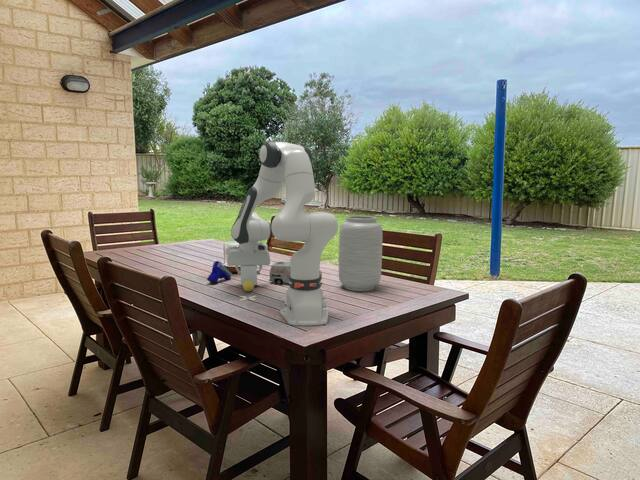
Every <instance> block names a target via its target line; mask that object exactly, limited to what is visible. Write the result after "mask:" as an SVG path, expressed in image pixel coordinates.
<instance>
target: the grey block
mask: <svg viewBox="0 0 640 480" xmlns="http://www.w3.org/2000/svg"><path fill="white" fill-rule="evenodd" d="M257 270H258V265H253V266H240V271H241V275H240V286H243V283H244V282H245V281H248V280H249V281H252V282H253V284H254V286H257V285H258V275H257Z"/></svg>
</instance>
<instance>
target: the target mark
mask: <svg viewBox="0 0 640 480" xmlns="http://www.w3.org/2000/svg"><path fill="white" fill-rule="evenodd" d="M256 298H257V295H252V296H244V295H239V301H240V302H243V301H246V300H250V301H253V302H254V301H257V300H258V299H256Z"/></svg>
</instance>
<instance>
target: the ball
mask: <svg viewBox="0 0 640 480" xmlns="http://www.w3.org/2000/svg"><path fill="white" fill-rule="evenodd" d="M254 287H255V285H254V284H253V282H252V281H249V280H248V281H245V282H244V283H243V285H242V288H243V289H242V290H244V291H245V292H251V291H253V290H254Z"/></svg>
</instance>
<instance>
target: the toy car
mask: <svg viewBox="0 0 640 480" xmlns="http://www.w3.org/2000/svg"><path fill="white" fill-rule="evenodd" d="M322 275H323V273H322V271H321V270H319V277H320V280H321V281H322V280H323V277H322ZM289 277H290V261H276V262H274V263H273V264H271V266H270V270H269V279H268V281H269V282H271V283H272V282H274V284H275V285H280V286H283V285H284V283H287V284H289Z"/></svg>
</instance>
